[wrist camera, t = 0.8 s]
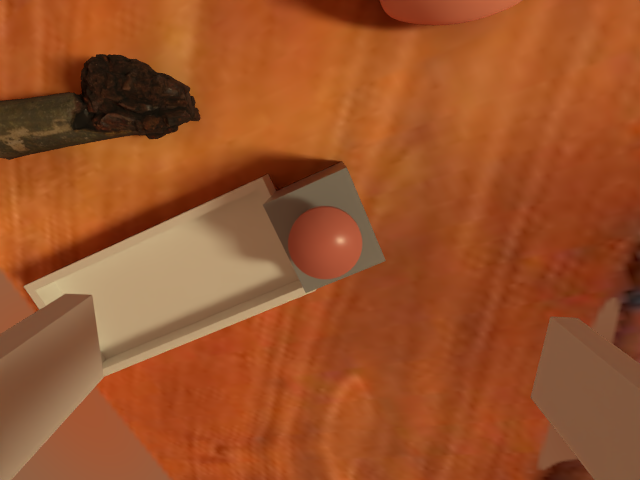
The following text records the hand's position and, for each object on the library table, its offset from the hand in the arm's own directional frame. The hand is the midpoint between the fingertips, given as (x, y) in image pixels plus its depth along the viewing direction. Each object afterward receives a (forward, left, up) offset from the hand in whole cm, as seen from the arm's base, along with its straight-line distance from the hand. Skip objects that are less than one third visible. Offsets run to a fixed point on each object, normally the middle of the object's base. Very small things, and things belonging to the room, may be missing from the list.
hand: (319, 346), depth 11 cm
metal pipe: (-17, -21, -29) cm, 40 cm away
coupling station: (+1, -17, -26) cm, 31 cm away
